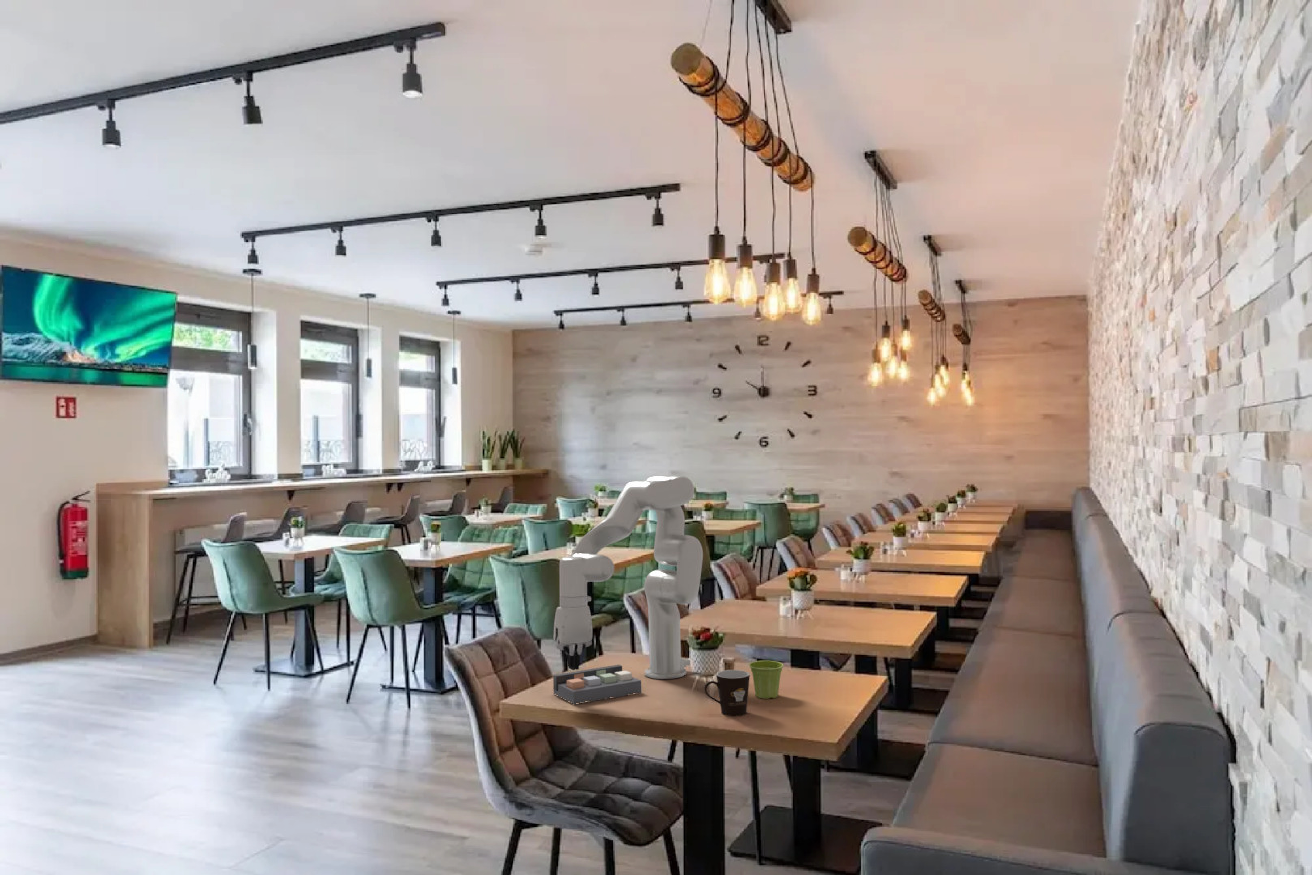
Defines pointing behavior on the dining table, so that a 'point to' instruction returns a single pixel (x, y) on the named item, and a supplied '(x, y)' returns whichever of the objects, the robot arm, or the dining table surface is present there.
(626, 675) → the key cream
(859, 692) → the dining table surface
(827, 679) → the dining table surface
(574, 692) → the keypad
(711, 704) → the dining table surface
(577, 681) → the key terracotta
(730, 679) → the coffee mug
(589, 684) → the key slate
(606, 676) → the key sage
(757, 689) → the plant pot
